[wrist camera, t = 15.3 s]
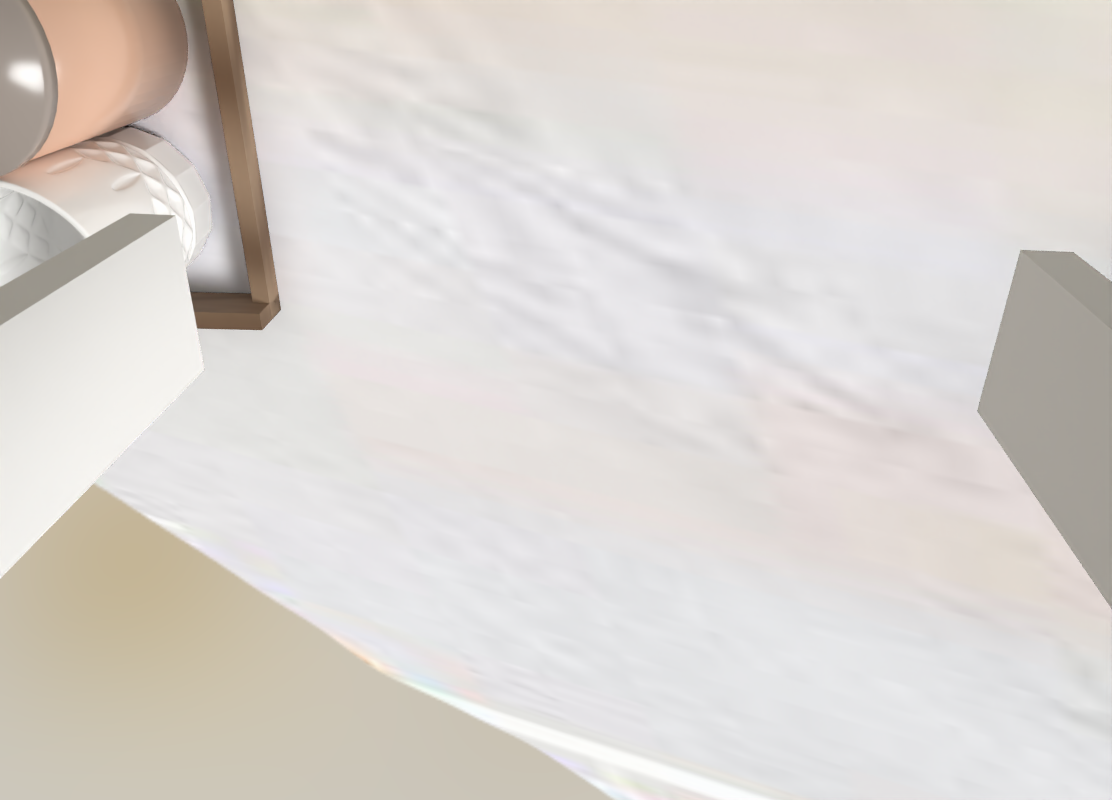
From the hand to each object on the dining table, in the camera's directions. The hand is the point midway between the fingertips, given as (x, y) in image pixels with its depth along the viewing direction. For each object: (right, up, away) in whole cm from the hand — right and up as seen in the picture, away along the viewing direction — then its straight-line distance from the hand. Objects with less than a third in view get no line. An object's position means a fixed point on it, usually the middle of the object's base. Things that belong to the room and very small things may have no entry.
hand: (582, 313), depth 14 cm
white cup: (-19, +8, +27) cm, 34 cm away
